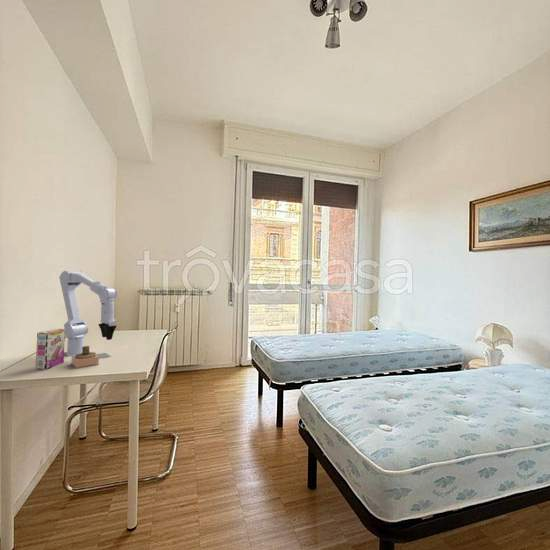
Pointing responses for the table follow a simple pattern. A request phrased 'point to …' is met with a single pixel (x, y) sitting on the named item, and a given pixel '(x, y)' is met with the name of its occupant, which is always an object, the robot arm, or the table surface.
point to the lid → (85, 353)
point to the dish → (84, 362)
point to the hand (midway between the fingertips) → (107, 338)
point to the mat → (103, 355)
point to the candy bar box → (50, 348)
